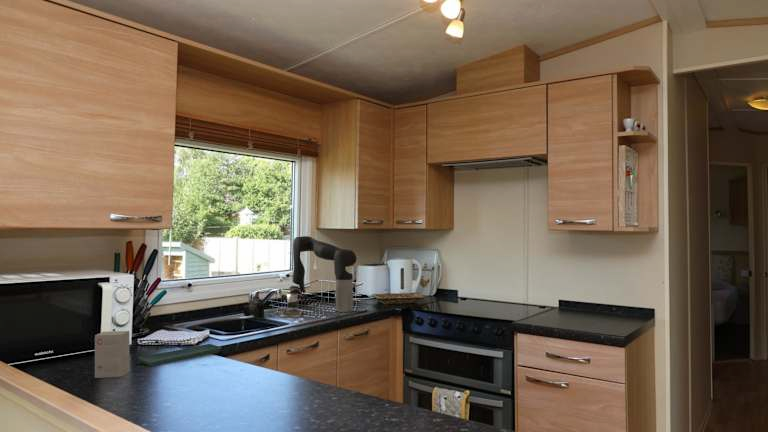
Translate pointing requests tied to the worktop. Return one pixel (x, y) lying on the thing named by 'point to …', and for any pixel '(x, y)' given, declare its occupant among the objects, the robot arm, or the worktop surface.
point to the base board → (291, 316)
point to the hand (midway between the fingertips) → (293, 298)
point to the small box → (112, 354)
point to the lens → (292, 301)
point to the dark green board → (180, 354)
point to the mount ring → (290, 312)
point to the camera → (255, 308)
